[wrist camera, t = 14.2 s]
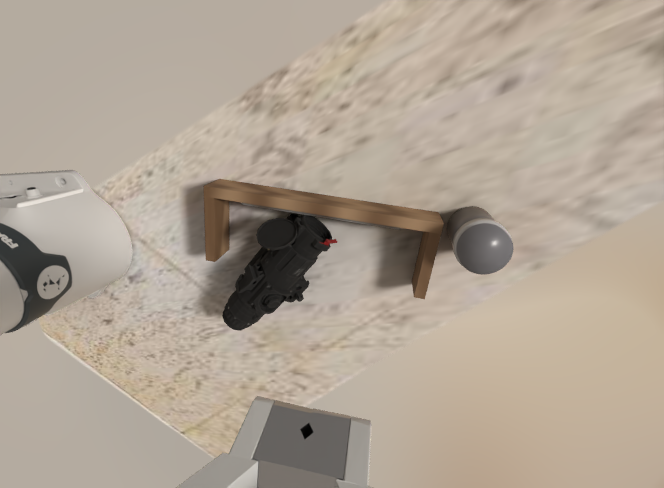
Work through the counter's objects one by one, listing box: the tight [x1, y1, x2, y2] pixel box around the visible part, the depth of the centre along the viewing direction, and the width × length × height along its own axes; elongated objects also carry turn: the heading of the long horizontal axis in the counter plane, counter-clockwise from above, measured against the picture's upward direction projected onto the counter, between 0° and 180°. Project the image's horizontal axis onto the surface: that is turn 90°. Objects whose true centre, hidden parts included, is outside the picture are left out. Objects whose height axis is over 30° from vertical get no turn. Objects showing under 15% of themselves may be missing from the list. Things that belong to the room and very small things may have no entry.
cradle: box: [204, 179, 444, 299], centre depth 41 cm, size 26×9×4 cm, turn 83°
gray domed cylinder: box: [447, 206, 513, 274], centre depth 36 cm, size 5×5×7 cm
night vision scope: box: [223, 213, 337, 330], centre depth 42 cm, size 8×18×10 cm
